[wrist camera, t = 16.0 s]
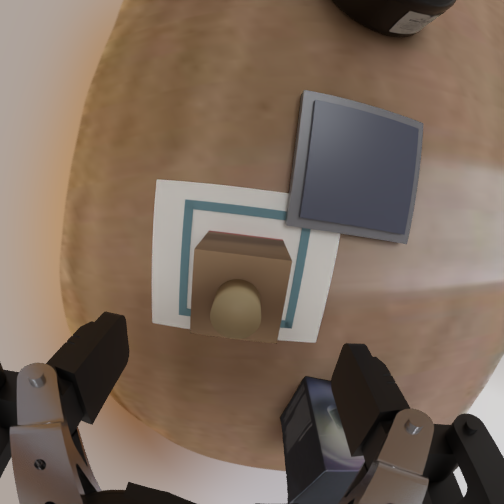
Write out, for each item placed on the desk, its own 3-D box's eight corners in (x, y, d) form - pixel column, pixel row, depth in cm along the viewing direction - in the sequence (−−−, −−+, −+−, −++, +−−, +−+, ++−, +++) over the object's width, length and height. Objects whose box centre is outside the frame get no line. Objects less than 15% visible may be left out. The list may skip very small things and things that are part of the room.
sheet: (157, 179, 18) (156, 179, 18) (344, 202, 19) (346, 202, 18) (153, 321, 21) (151, 323, 21) (315, 341, 22) (315, 343, 21)
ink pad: (301, 94, 17) (305, 87, 15) (415, 125, 17) (426, 122, 15) (284, 222, 19) (287, 227, 18) (399, 240, 19) (410, 245, 18)
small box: (397, 386, 23) (439, 461, 13) (365, 427, 25) (392, 500, 15) (305, 372, 22) (327, 472, 12) (277, 418, 24) (285, 509, 14)
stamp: (209, 230, 19) (185, 260, 12) (282, 239, 19) (298, 274, 12) (203, 297, 20) (182, 352, 14) (271, 306, 21) (279, 364, 14)
